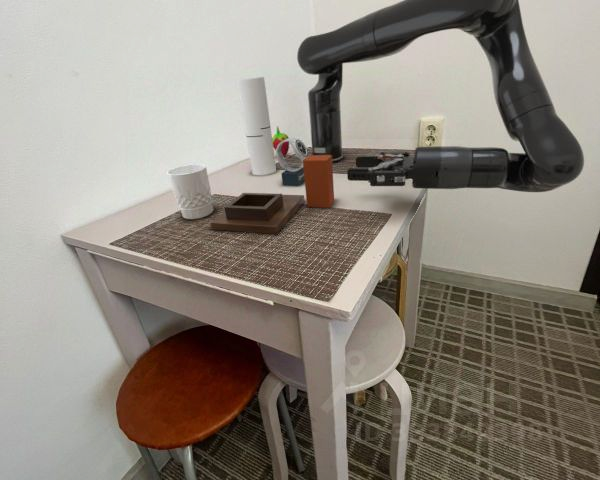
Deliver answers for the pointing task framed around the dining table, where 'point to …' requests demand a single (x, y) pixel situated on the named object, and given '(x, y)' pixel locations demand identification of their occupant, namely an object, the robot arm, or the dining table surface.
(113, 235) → the dining table surface
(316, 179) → the brown rectangular block
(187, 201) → the white cup
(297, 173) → the watch
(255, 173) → the cylindrical container
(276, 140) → the strawberry
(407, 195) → the dining table surface
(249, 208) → the brown square tray
